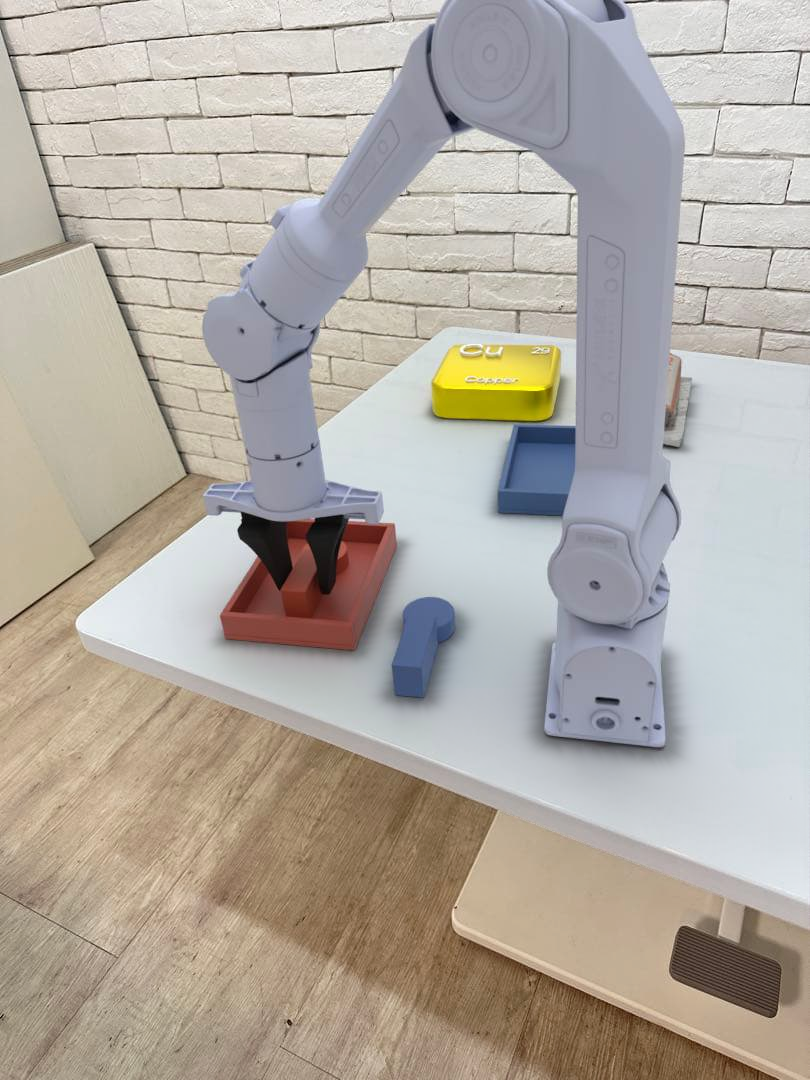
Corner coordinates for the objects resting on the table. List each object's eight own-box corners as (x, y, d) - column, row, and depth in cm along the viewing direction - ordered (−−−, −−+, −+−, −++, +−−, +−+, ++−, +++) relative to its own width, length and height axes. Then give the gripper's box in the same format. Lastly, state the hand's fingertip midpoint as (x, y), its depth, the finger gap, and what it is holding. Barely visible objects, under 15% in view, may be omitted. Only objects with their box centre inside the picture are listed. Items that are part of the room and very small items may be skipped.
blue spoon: (437, 699, 58) (434, 669, 57) (381, 693, 59) (378, 663, 58) (459, 613, 67) (457, 584, 65) (410, 609, 68) (407, 581, 66)
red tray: (354, 650, 64) (351, 626, 62) (225, 639, 66) (219, 615, 65) (397, 545, 76) (395, 523, 75) (286, 538, 78) (282, 517, 77)
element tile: (429, 418, 99) (427, 382, 96) (452, 373, 111) (450, 339, 108) (551, 423, 95) (552, 385, 93) (561, 375, 108) (562, 340, 105)
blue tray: (613, 518, 77) (615, 496, 76) (497, 512, 79) (497, 491, 78) (613, 447, 89) (615, 426, 88) (513, 443, 92) (513, 424, 90)
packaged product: (614, 345, 102) (696, 349, 99) (611, 381, 105) (691, 386, 101) (591, 402, 88) (686, 409, 85) (589, 441, 91) (681, 449, 88)
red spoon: (321, 621, 66) (317, 592, 65) (274, 617, 67) (268, 588, 66) (354, 553, 74) (350, 526, 73) (311, 550, 75) (307, 523, 74)
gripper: (386, 423, 63) (399, 564, 70) (216, 418, 66) (246, 554, 73) (363, 466, 57) (380, 614, 64) (178, 458, 60) (214, 601, 67)
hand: (307, 585), depth 68 cm, fingers open, 3 cm apart
